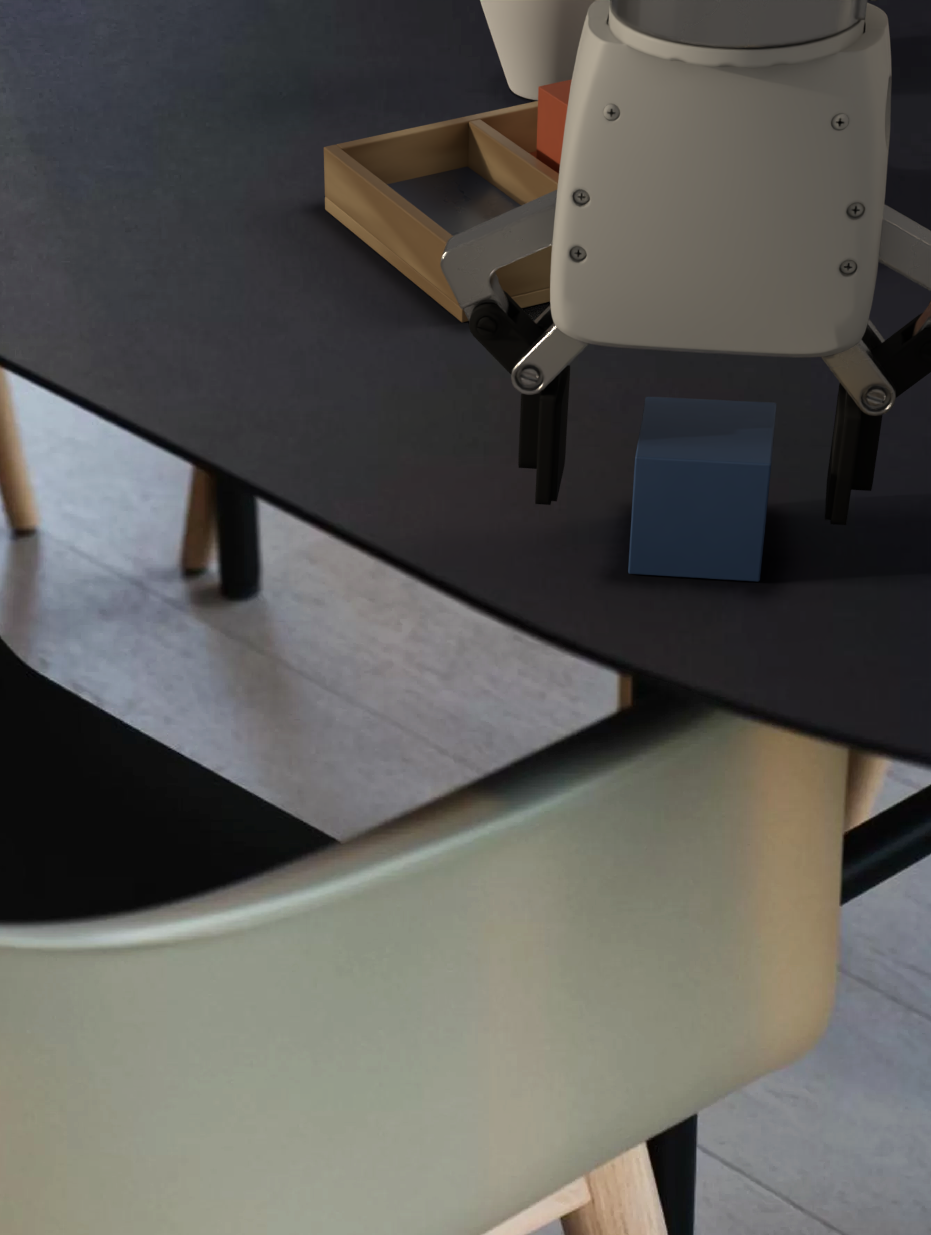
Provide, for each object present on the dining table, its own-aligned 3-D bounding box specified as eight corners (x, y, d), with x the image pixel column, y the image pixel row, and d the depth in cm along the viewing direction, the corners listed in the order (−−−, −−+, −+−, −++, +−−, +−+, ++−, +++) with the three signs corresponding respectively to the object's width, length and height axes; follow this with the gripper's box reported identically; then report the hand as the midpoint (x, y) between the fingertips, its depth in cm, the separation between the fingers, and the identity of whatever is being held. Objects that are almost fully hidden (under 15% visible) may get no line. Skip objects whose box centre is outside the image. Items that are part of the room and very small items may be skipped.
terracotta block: (535, 188, 108) (538, 86, 105) (623, 168, 109) (629, 66, 106) (585, 224, 105) (590, 120, 102) (676, 203, 106) (683, 99, 103)
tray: (604, 147, 113) (607, 85, 111) (761, 251, 104) (767, 185, 102) (324, 209, 109) (322, 146, 108) (461, 323, 100) (462, 256, 98)
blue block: (627, 574, 85) (634, 457, 82) (638, 510, 88) (645, 395, 85) (759, 582, 84) (771, 464, 81) (765, 518, 87) (776, 402, 84)
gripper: (1038, -58, 75) (952, 460, 86) (464, -75, 78) (453, 428, 89) (1048, 28, 69) (955, 570, 80) (430, 7, 72) (422, 532, 83)
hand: (691, 495), depth 85 cm, fingers open, 9 cm apart
